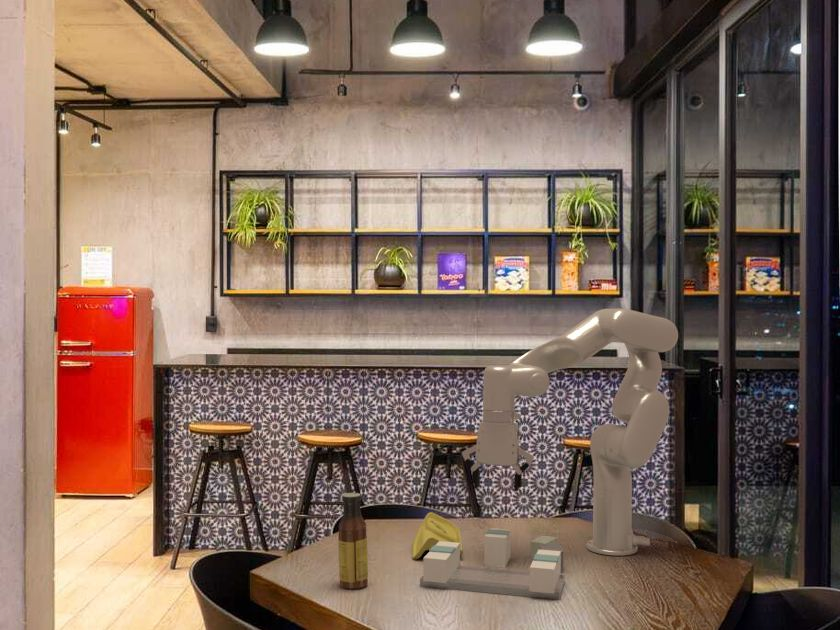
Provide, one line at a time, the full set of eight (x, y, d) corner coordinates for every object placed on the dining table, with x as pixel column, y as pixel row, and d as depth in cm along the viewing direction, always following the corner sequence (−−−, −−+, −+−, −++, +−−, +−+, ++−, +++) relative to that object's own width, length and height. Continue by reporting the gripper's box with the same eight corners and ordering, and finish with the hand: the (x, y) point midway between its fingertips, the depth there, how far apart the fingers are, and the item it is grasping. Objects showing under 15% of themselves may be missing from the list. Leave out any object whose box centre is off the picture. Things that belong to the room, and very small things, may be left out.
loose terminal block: (556, 553, 208) (557, 537, 208) (545, 560, 202) (545, 543, 202) (542, 551, 210) (542, 535, 210) (530, 557, 204) (530, 541, 204)
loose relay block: (560, 565, 197) (561, 544, 197) (562, 573, 191) (563, 552, 191) (539, 565, 198) (539, 544, 198) (540, 572, 192) (541, 551, 192)
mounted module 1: (460, 564, 192) (460, 541, 192) (446, 583, 178) (446, 558, 178) (438, 562, 193) (438, 539, 193) (423, 581, 180) (423, 556, 180)
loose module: (510, 558, 203) (511, 528, 203) (505, 567, 195) (505, 536, 195) (490, 556, 204) (490, 526, 204) (483, 565, 197) (484, 534, 197)
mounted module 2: (560, 573, 186) (561, 549, 186) (554, 593, 172) (554, 567, 172) (538, 571, 187) (538, 547, 187) (529, 591, 174) (529, 565, 174)
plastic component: (463, 552, 199) (425, 534, 199) (449, 579, 200) (411, 561, 200) (459, 525, 219) (425, 508, 219) (446, 550, 220) (412, 533, 219)
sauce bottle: (366, 580, 184) (367, 490, 185) (369, 589, 178) (370, 496, 178) (336, 581, 183) (337, 491, 183) (338, 591, 177) (339, 497, 177)
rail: (564, 582, 185) (564, 575, 185) (559, 599, 173) (559, 592, 173) (433, 570, 193) (433, 563, 193) (420, 586, 181) (420, 579, 181)
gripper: (536, 417, 201) (534, 488, 201) (466, 413, 206) (464, 483, 206) (532, 421, 194) (530, 494, 194) (459, 416, 198) (457, 488, 198)
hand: (496, 488), depth 200 cm, fingers open, 9 cm apart
